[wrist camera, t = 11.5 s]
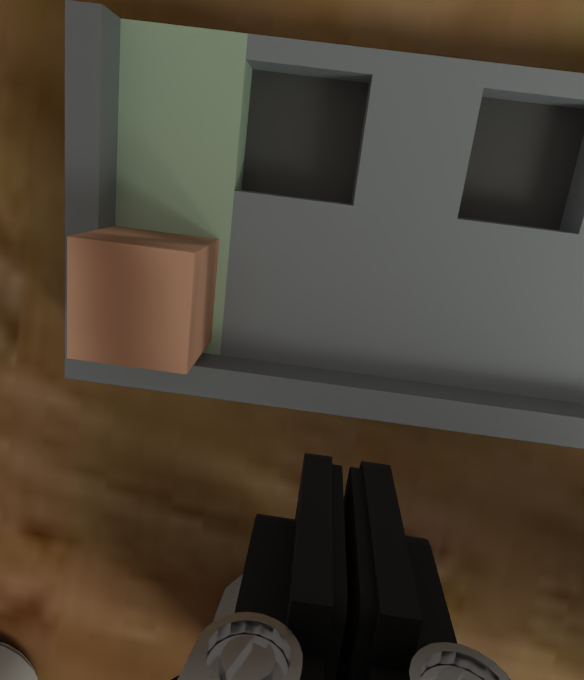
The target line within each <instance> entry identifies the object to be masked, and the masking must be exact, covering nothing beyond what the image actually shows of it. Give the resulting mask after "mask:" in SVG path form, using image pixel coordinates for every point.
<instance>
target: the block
mask: <svg viewBox="0 0 584 680" xmlns="http://www.w3.org/2000/svg"><path fill="white" fill-rule="evenodd" d="M218 252H219V239H213V238H205V237H197V236H190V235H182V234H174V233H166V232H158V231H151V230H143V229H135V228H127V227H120V226H113V227H108V228H103V229H99V230H94V231H89V232H85V233H80V234H76V235H71V236H67V358H69V359H76V360H84V361H91V362H98V363H106V364H113V365H121V366H128V367H135V368H143V369H150V370H157V371H165V372H172V373H180V374H187V373H188V372H189V370H190V369H191V368H192V366H193V365H194V363H195V362H196V361H197V359H198V358H199V357H200V355H201V354H202V352H203V351H204V350H205V348H206V347H207V345H208V344H209V343H210V341H211V338H212V325H213V313H214V301H215V288H216V276H217V264H218Z"/></svg>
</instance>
